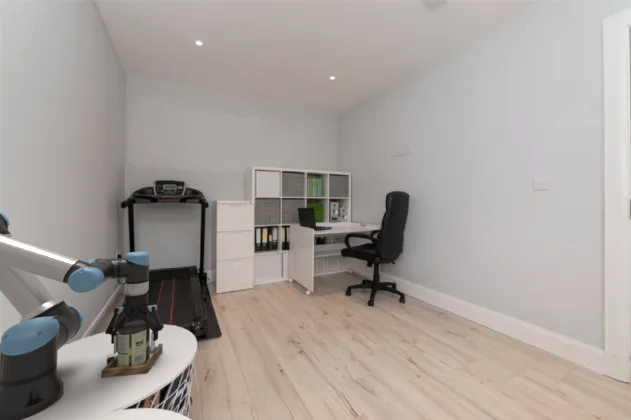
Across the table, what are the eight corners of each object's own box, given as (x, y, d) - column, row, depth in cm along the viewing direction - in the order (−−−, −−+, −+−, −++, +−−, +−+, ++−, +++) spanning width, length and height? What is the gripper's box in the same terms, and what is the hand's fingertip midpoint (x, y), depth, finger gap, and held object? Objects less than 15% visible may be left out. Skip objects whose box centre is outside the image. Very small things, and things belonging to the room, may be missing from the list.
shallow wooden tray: (101, 377, 90) (101, 370, 90) (120, 357, 103) (121, 350, 103) (147, 373, 93) (147, 366, 93) (160, 353, 106) (161, 347, 106)
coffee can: (133, 353, 105) (134, 318, 105) (156, 356, 103) (156, 321, 103) (109, 369, 94) (110, 330, 95) (133, 372, 93) (134, 332, 93)
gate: (123, 354, 104) (124, 346, 104) (126, 352, 106) (126, 344, 106) (161, 353, 106) (161, 345, 106) (163, 350, 108) (163, 343, 108)
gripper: (94, 297, 93) (92, 358, 93) (167, 294, 98) (165, 352, 98) (106, 291, 100) (104, 347, 100) (174, 288, 105) (172, 342, 105)
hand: (134, 350), depth 99 cm, fingers open, 12 cm apart
